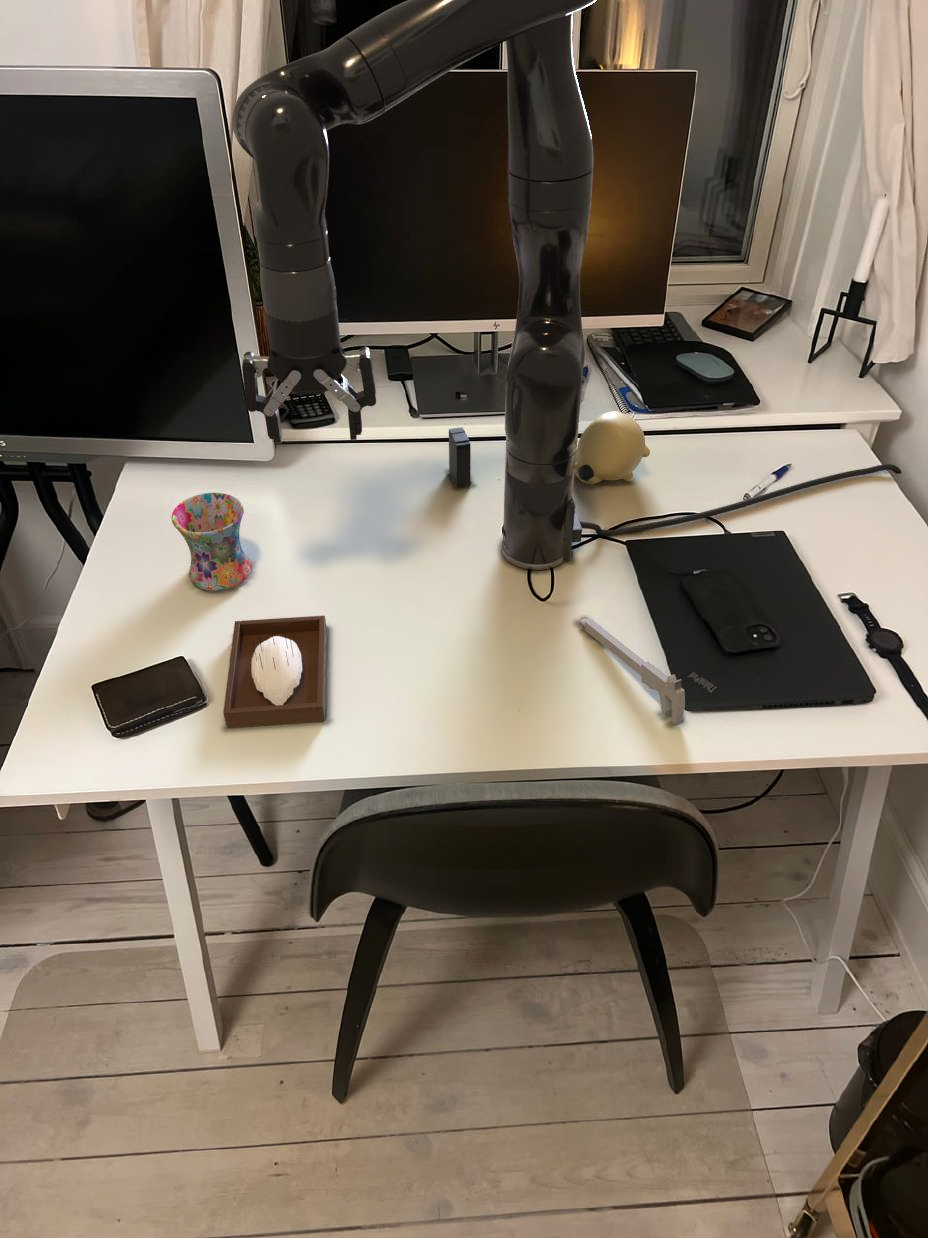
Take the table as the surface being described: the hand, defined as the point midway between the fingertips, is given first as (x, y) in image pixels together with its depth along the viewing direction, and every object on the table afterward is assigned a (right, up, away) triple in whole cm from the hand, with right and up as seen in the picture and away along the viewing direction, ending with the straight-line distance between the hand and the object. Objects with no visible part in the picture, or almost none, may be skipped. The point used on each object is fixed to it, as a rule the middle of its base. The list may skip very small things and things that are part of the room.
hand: (316, 438), depth 110 cm
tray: (-6, -28, +8) cm, 30 cm away
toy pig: (+39, +2, +41) cm, 57 cm away
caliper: (+37, -27, +9) cm, 47 cm away
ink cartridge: (+16, +1, +40) cm, 44 cm away
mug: (-17, -14, +24) cm, 32 cm away
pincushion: (-6, -27, +8) cm, 29 cm away
